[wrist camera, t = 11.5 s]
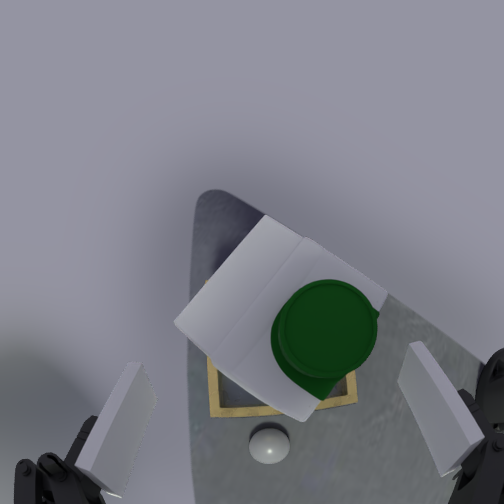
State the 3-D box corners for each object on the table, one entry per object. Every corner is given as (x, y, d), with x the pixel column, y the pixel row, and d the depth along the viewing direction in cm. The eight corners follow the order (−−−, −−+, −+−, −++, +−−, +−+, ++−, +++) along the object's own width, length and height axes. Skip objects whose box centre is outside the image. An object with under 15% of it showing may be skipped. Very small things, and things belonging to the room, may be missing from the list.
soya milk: (285, 401, 26) (311, 451, 8) (219, 353, 29) (134, 312, 11) (332, 337, 28) (421, 272, 10) (267, 293, 31) (260, 174, 13)
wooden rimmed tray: (350, 282, 37) (366, 260, 30) (366, 395, 30) (389, 398, 23) (213, 295, 37) (200, 276, 30) (219, 412, 30) (206, 421, 23)
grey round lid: (287, 425, 29) (288, 427, 28) (290, 459, 27) (290, 461, 26) (248, 428, 29) (247, 430, 28) (251, 462, 27) (250, 464, 26)
